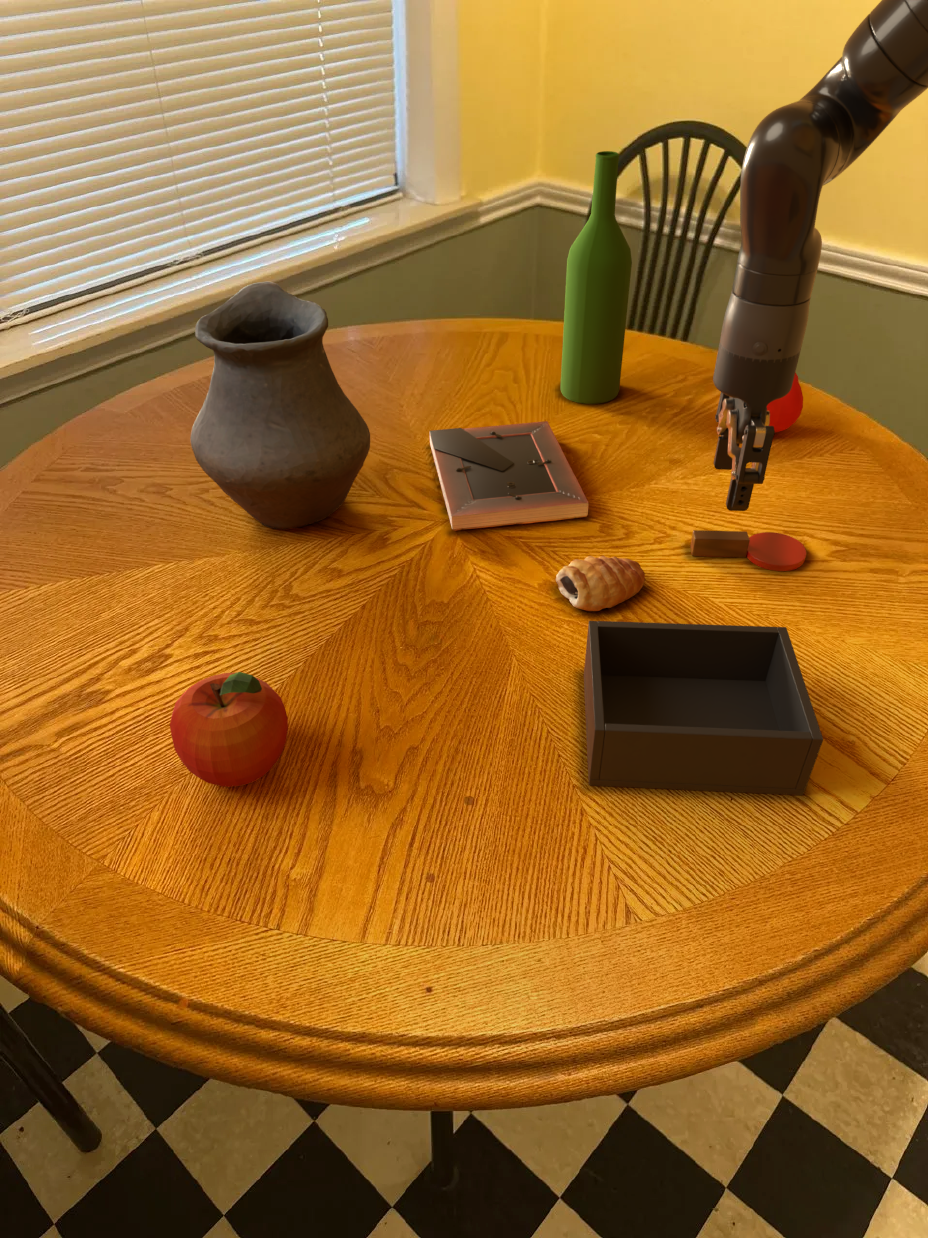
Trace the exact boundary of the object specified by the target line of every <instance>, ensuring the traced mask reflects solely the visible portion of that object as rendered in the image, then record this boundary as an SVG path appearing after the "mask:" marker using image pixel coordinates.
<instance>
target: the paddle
mask: <svg viewBox="0 0 928 1238" xmlns="http://www.w3.org/2000/svg"><path fill="white" fill-rule="evenodd" d="M689 549H690V552H691V556H692V557H706V558H707V557H708V558H709V557H710V558H711V557H713V558H741V559H742V558H743V559H744V558H745V559H746V558H747V559H748V561H750V562H751V563H752V564H753V565H755V566H758V567H759V568H761V569H765V570H769V571H773V572H790V571H794V570H797V569H798V568H800V567H801V566H803V565H804V563H805V560H806V558H807V548H806V547H805V546H804V544H803V543H802V542H801V541H799V539H797V538H794V537H793V536H791V535H788V534H784V533H780V532H775V531H773V532H772V531H765V532H758V533H755V534H752V535H751V536H749V534H748V531H743V530H742V531H740V530H739V531H738V530H704V529H703V530H702V529H701V530H699V529H692V534H691V541H690V546H689Z"/></svg>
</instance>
